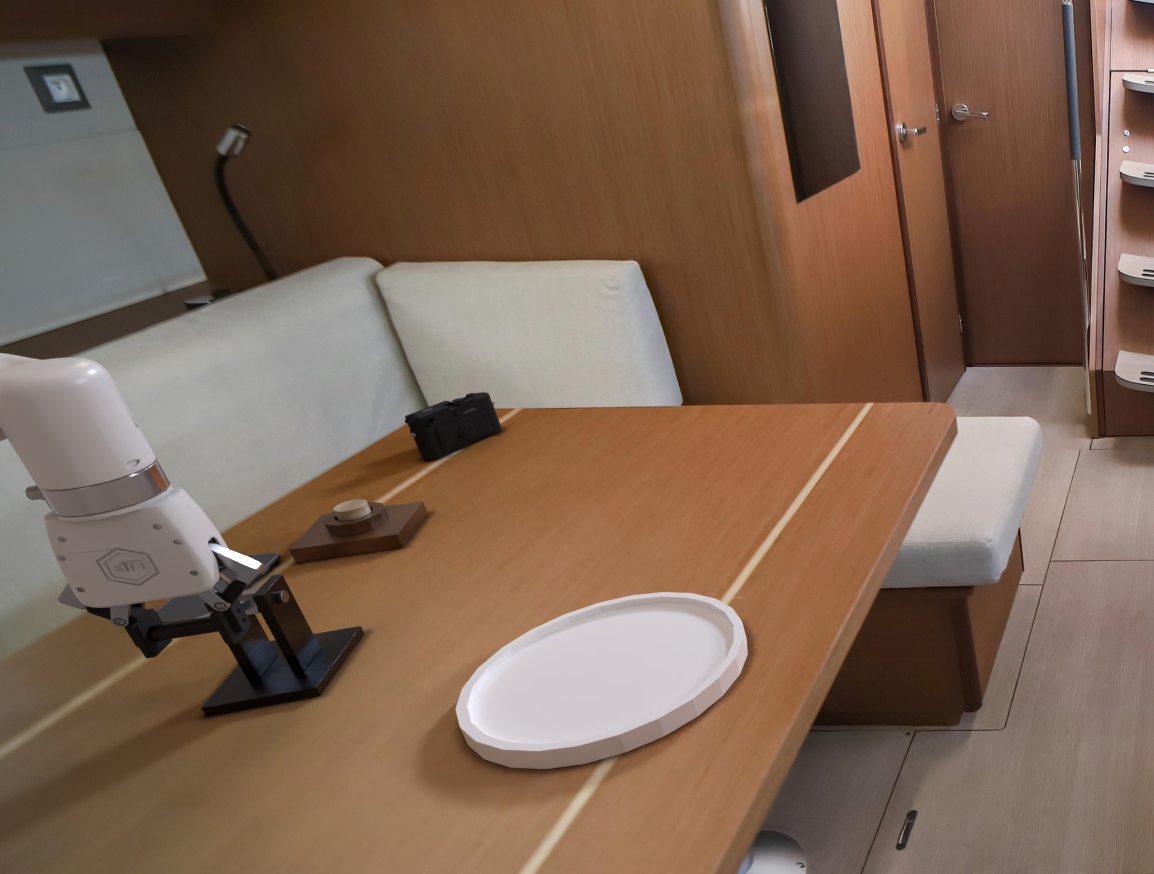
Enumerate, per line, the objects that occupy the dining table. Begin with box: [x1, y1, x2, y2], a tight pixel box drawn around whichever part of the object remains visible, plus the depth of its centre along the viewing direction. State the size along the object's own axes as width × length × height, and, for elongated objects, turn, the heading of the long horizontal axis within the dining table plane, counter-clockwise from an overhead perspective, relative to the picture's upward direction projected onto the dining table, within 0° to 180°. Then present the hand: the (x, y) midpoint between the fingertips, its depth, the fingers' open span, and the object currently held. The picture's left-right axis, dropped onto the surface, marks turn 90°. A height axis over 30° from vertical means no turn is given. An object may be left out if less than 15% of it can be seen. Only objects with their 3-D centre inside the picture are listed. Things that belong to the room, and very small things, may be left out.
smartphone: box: [155, 552, 282, 623], centre depth 124 cm, size 7×1×15 cm
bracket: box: [200, 573, 365, 717], centre depth 108 cm, size 12×10×12 cm
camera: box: [404, 391, 503, 461], centre depth 162 cm, size 14×7×8 cm, turn 165°
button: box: [332, 498, 371, 521], centre depth 134 cm, size 4×4×2 cm
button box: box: [288, 500, 429, 564], centre depth 135 cm, size 12×10×4 cm
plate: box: [454, 591, 749, 770], centre depth 110 cm, size 28×28×2 cm
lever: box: [148, 587, 261, 642], centre depth 101 cm, size 12×6×2 cm, turn 21°
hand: (199, 641), depth 97 cm, fingers closed on lever, 5 cm apart
